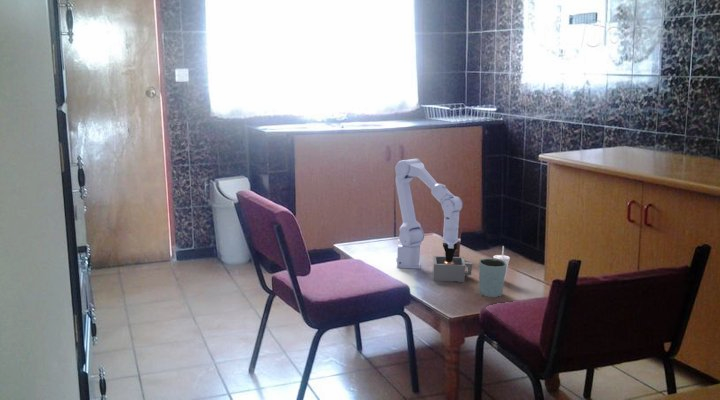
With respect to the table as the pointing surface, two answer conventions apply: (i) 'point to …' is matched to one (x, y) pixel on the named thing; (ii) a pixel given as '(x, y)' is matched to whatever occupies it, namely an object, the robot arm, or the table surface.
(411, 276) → the table surface
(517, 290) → the table surface
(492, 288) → the teal plant pot
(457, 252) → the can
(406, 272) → the table surface
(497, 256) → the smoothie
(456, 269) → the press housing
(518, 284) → the table surface
